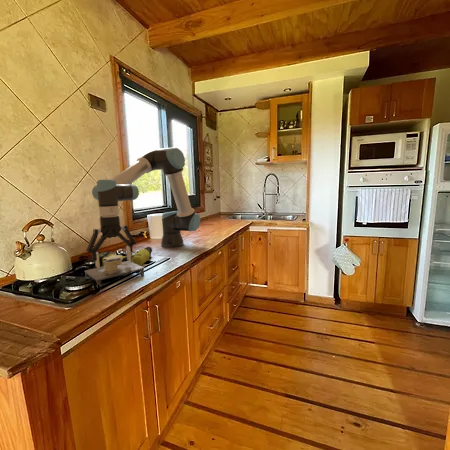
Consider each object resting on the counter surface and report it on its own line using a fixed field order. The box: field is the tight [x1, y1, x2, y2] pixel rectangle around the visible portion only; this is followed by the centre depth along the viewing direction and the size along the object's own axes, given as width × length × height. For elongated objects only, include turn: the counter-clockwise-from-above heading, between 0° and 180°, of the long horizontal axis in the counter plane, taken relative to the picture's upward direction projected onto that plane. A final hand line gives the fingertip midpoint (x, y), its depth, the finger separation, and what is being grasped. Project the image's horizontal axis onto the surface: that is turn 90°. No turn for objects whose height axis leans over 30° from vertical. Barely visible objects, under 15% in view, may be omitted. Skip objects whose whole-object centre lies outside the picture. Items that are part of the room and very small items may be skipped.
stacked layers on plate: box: [98, 254, 130, 274], centre depth 111 cm, size 10×9×6 cm
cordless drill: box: [93, 246, 153, 268], centre depth 136 cm, size 7×25×25 cm
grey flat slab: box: [83, 261, 145, 288], centre depth 111 cm, size 20×16×4 cm
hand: (114, 263), depth 111 cm, fingers open, 13 cm apart
